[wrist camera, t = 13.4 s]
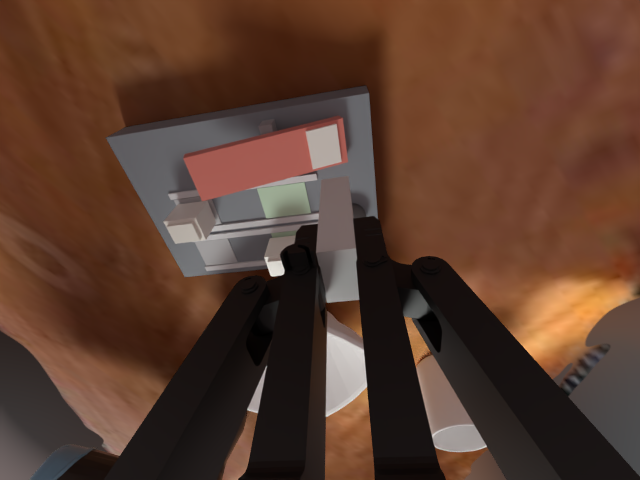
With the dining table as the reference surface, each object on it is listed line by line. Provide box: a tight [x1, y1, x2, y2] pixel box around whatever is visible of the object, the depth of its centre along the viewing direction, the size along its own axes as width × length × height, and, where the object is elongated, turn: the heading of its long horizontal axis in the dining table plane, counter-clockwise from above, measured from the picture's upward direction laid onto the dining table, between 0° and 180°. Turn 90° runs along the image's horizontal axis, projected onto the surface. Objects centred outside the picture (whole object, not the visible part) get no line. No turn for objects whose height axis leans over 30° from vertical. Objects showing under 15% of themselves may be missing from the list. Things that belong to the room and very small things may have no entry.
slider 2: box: [264, 235, 296, 276], centre depth 30 cm, size 3×2×3 cm
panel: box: [106, 86, 378, 277], centre depth 30 cm, size 22×16×4 cm
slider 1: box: [163, 201, 216, 244], centre depth 28 cm, size 3×2×3 cm
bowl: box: [202, 311, 367, 417], centre depth 40 cm, size 21×21×9 cm
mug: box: [416, 354, 487, 452], centre depth 43 cm, size 12×8×10 cm
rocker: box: [183, 116, 348, 201], centre depth 24 cm, size 12×4×1 cm, turn 99°
